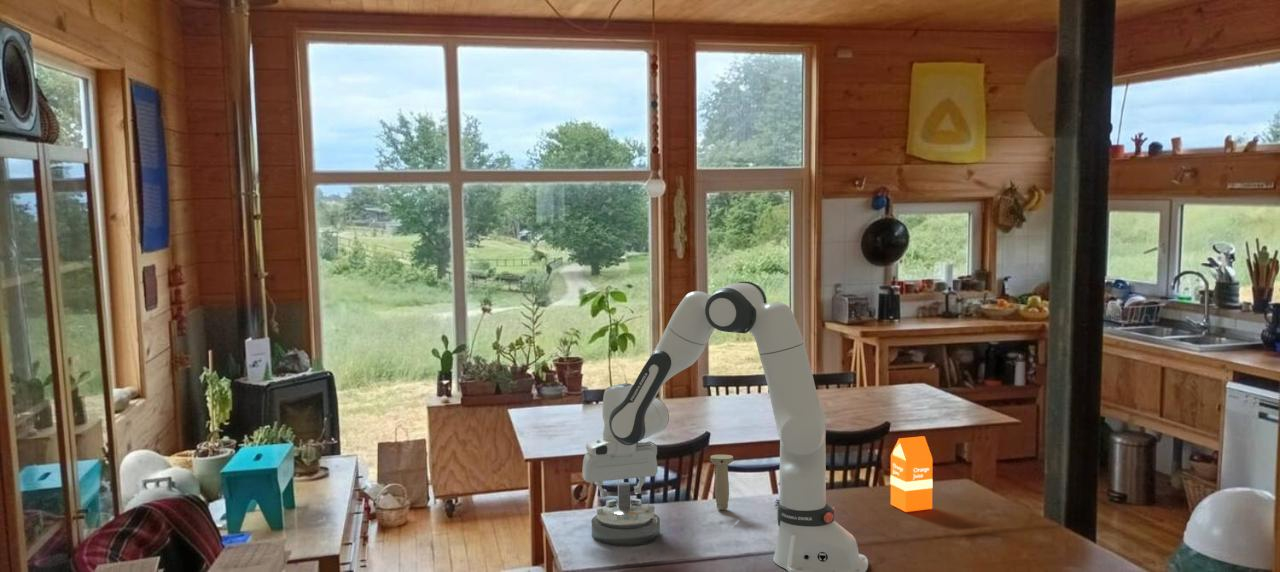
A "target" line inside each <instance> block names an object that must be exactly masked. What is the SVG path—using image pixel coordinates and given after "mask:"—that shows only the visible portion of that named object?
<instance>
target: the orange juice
mask: <svg viewBox="0 0 1280 572" xmlns="http://www.w3.org/2000/svg"><path fill="white" fill-rule="evenodd" d="M897 439H898V440H897V442H896V444H895V445H894V447H893V450H892V452H891V454H890V505H891V506H893V507H896V508H897V509H898V510H901V511H903V512H905V513H908V512H909V513H910V512H916V511H924V510H932V509H933V488H934V487H933V456H932V453H931V451H930V447H929V445H928V442H927V439H926V436H924V435H923V436H922V435H921V436H911V437H910V436H909V437H902V438H901V437H899V438H897Z"/></svg>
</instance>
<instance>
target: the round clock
mask: <svg viewBox="0 0 1280 572" xmlns="http://www.w3.org/2000/svg"><path fill="white" fill-rule="evenodd" d="M654 514H655V506H654V504H653V503H652V504H644V503H642V499H641V498H634V497H632V499H631V484H630V482H629V481H628V482H624V481H623V482H617V500H616V499H614V498H613V499H609V500H608V499H607V500H606V501H605V505H604V506H596V515H597V521H598V522H599V523H600V524H602V525H604V526H607V527H612V528H636V527H641V526H645V525H648V524H650V523H651V522H653V517H654Z"/></svg>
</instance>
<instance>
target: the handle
mask: <svg viewBox="0 0 1280 572" xmlns="http://www.w3.org/2000/svg"><path fill="white" fill-rule="evenodd" d="M709 460H710V462H711V463H713V464H714V465H715V484H714V496H715V502H716V509H718V510H727V509H728V508H729V507H728V506H729V500H730V499H729V498H730V496H729V495H730V483H729V468H728V467H729V465H730V464H732V463H733V462H734V456H733V455H731V454H712V455H710V459H709Z"/></svg>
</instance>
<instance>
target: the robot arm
mask: <svg viewBox="0 0 1280 572" xmlns="http://www.w3.org/2000/svg"><path fill="white" fill-rule="evenodd" d="M672 313H673V314H672V315H671V317H670V319H669V321H668V323H667V325H666V328H665V330H664V331H663V333H662V335H661V336H660V339H659V341H658V343H657V345H656V346H655V348H654V349H653V352H652V353H651V355H650V356H649V357H648V359H647V361H645V362H646V363H645V364H644V366H643V367H642V369H641V370H640V373H639V375H637V378H636V380H635V381H634V383H633V384H632V383H627V382H626V383H618V384H614V385H611V386H608V387H606V389H604V393H603V399H602V419H603V424H604V426H603V427H604V428H603V431H602V436H600V437H598V438H596V439H594V440H592V441H588V442H587V443H586V445H585V449H586V451H587V452H586V453H585V454H584V456H583V461H582V472H581V473H582V474H581V475H582V478H583V480H584V481H585V482H587V483H595V485H596V486H597V489H598V490H599V495H600V498H607V497H608V490H607V489H606V488H603V487H602V486H603V485H604V484H603V483H604V482H606V481H607V482H608V481H618V480H628V479H637V480H638V482H637V484H636V485H633V489H634V490H633V492H634V495H639V494H640V495H641V494H642V487H643V485H644V484H645V482H646V478H648V477H649V478H650V477H655V476H657V474H658V462H657V461H658V460H657V455H658V447H657V444H656V443H655V442H653V441H651V440H649V441H645V442H644V441H642V440H644V439H647V438H651V437H652V436H654V435H656V434H658V433H660V432H663V431H664V430H665V429H666V428H667V426H668V424H669V419H670V415H669V414H670V413H669V410H668V407H667V406H666V404H665V403H664V402H663V401H662V400H661V399H659V398H656V397H657V395H658V394H659V392H660V391H661V388H662V387H663V386H664V384H666V383H667V382H668V380H670V379H671V378H673V377H674V376H676V375H677V374H679V373H681V372H683V371H684V370H686V369H688V368H689V367H691V366H693V365H694V364H695V363H696V362H697V361H698V359H699V358H700V357H701V356H702V354H703V352H704V351H705V349H706V346H707V345H708V342H709V340H710V338H711V336H712V334H713V333H714V331H715V330H717V331H720V332H724V333H734V334H735V333H736V334H737V333H738V334H747V333H749V332H750V333H751V334H752V336H753V338H754V340H755V343H756V347H757V350H758V351H757V352H758V354H759V358H760V361H761V362H760V363H761V366H762V369H763V372H764V376H765V380H766V384H767V388H768V393H769V398H770V403H771V407H772V413H773V416H774V421H775V425H776V428H777V429H776V430H777V433H778V438H779V500H780V502H779V503H778V506H777V509H776V510H777V512H776V513H777V526H778V534H777V541H776V547H775V549H774V550H775V551H774V554H773V557H772V560H773V562H774V564H776V565H777V566H779V567H781V568H783V569H785V570H787V572H867V571H868V568H869V561H868V557H867V556H866V555H864V554H862V553H859V547H858V543H857V540H856V538H855V536H854V535H853V534H852V533H851V532H849V531H848V530H847V529H845V528H844V527H843V526H841V525H840V524H839V523H838V522H837V521H836V520H835V506H832V507H831V506H830V505H829V504H828V503H827V498H826V496H827V489H826V488H827V486H826V485H827V482H826V480H827V478H826V477H827V475H826V474H827V472H826V471H827V469H826V465H827V464H826V463H827V462H826V459H827V458H826V457H827V456H826V454H827V453H826V436H827V435H826V434H827V431H826V430H827V429H826V427H827V426H826V414H825V412H824V409H823V408H822V407H821V405H820V401H819V398H818V397H819V396H818V392H817V389H816V388H817V387H816V384H815V380H814V376H813V371H812V368H811V364H810V363H811V362H810V360H809V357H808V356H809V355H808V352H807V350H806V345H805V341H804V338H803V335H802V332H801V330H800V326H799V324H798V322H797V319H796V317H795V314H794V312H793V311H792V308H790V306H789V305H787V304H785V303H782V302H775V301H774V302H768V301H767V297H766V294H765V291H764V289H762V288H761V287H760V285H758V284H756V283H754V282H751V281H739V282H737V283H735V282H734V283H730V284H727V285H725V286H723V287H721V288H719V289H717V290H715V291H714V292H712V293H711V294H709V293H707V292H704V291H698V290H695V291H690V292H688V293H687V294H686V295H685V296H684V297H683V298H682V300H681V301H680V303H679V304H678V305H677V307H676V309H675V310H674V312H672Z"/></svg>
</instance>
